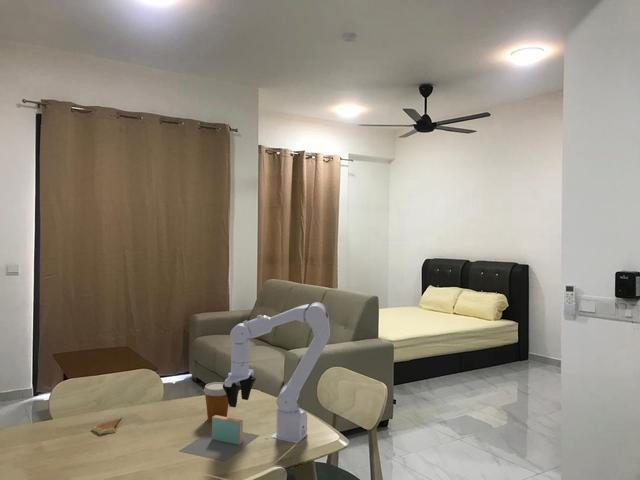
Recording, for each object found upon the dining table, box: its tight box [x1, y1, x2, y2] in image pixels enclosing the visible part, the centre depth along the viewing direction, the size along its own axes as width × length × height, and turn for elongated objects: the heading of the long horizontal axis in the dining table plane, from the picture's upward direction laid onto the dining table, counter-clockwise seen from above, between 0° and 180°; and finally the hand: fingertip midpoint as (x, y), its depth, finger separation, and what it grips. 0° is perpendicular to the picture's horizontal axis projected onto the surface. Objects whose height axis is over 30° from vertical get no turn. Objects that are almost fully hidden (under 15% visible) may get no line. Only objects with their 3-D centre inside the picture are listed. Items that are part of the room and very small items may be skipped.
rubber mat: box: [178, 430, 260, 462], centre depth 153 cm, size 16×20×1 cm
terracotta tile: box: [211, 415, 244, 445], centre depth 155 cm, size 10×2×7 cm, turn 68°
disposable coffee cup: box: [203, 381, 229, 423], centre depth 173 cm, size 10×10×12 cm
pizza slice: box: [91, 417, 123, 435], centre depth 164 cm, size 11×8×2 cm
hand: (239, 402), depth 161 cm, fingers open, 7 cm apart
